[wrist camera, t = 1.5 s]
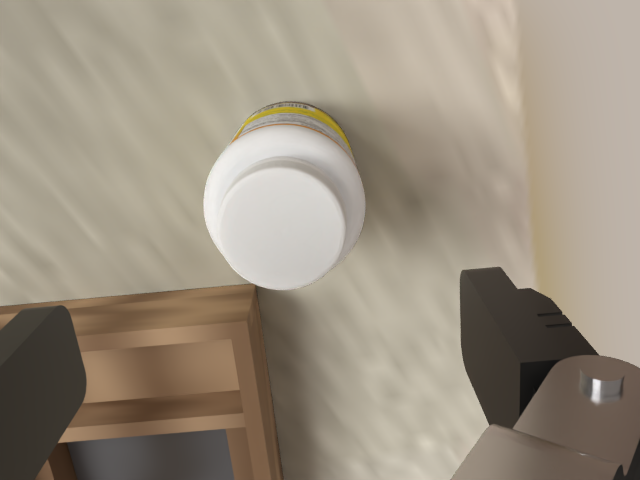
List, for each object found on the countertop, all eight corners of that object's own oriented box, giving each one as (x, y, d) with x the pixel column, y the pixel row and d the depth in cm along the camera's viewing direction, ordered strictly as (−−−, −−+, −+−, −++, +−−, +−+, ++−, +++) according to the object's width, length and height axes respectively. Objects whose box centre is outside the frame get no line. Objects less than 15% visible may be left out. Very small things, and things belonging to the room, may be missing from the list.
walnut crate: (73, 548, 35) (44, 611, 31) (-2, 306, 30) (-48, 347, 26) (291, 531, 35) (288, 592, 31) (255, 283, 30) (246, 321, 26)
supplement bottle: (291, 240, 29) (280, 348, 19) (206, 159, 27) (149, 230, 18) (377, 161, 28) (411, 234, 18) (292, 72, 26) (280, 98, 16)
